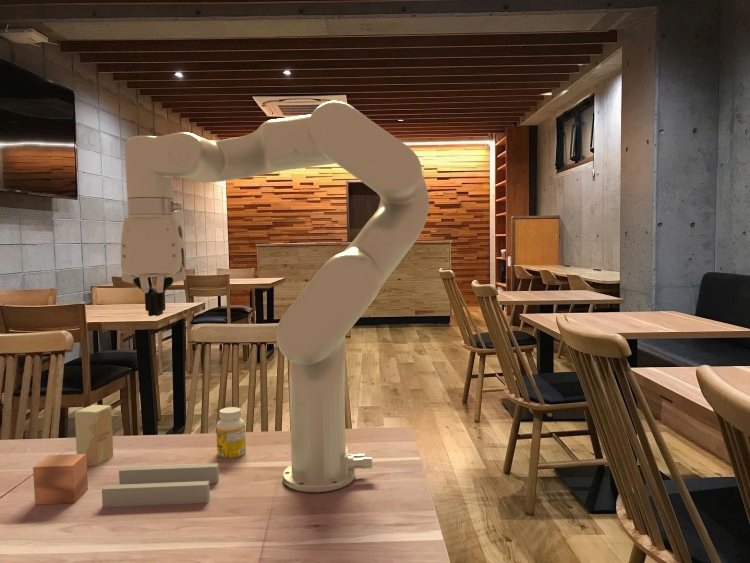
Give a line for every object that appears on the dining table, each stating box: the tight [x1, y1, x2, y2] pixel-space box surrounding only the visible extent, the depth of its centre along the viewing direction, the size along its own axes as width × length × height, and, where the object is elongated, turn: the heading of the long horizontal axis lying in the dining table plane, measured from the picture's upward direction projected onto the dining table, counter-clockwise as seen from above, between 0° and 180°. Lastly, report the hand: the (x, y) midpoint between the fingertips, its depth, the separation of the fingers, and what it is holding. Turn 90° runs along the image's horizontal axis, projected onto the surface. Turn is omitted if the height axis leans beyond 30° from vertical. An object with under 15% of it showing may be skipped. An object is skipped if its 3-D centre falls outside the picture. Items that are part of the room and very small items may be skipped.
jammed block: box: [32, 453, 89, 505], centre depth 95 cm, size 6×5×6 cm
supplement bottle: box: [215, 406, 247, 459], centre depth 113 cm, size 5×5×10 cm
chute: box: [101, 463, 220, 508], centre depth 96 cm, size 24×12×4 cm, turn 94°
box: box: [74, 404, 114, 467], centre depth 111 cm, size 5×4×11 cm
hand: (155, 314), depth 104 cm, fingers closed
